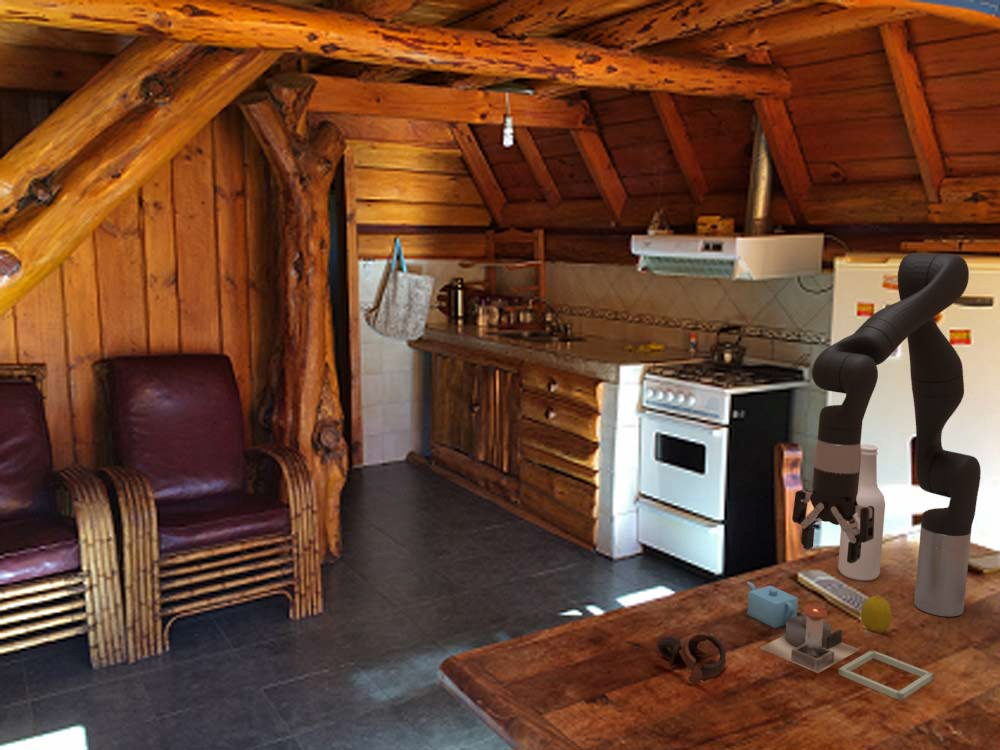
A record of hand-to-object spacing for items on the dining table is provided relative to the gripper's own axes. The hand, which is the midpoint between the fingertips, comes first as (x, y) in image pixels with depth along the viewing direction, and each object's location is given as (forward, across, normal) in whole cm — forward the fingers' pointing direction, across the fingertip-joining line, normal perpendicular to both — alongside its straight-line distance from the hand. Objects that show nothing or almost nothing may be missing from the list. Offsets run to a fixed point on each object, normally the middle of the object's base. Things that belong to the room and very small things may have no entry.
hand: (829, 555), depth 158 cm
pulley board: (+21, +3, -2) cm, 21 cm away
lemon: (+21, 0, -20) cm, 28 cm away
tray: (+21, -11, -3) cm, 24 cm away
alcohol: (+20, +18, -46) cm, 53 cm away
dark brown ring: (+22, +13, +20) cm, 32 cm away
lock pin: (+19, 0, +2) cm, 20 cm away
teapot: (+21, +16, -8) cm, 28 cm away
